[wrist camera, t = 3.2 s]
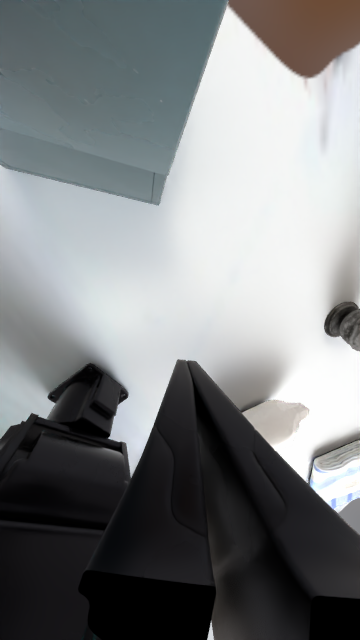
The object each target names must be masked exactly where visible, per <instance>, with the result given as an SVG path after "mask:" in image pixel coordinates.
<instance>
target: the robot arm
mask: <svg viewBox="0 0 360 640" xmlns="http://www.w3.org/2000/svg"><path fill="white" fill-rule="evenodd" d="M89 367H90V368H92V369H89ZM52 395H53V396H52ZM127 398H128V392H127V391H126V390H125V389H124V388H122V387H121V385H119V384H118V383H117V382H116V381H114V380H113V379H112V378H111V377H110V376H108V375H107V374H105V373H104V372H103V371H101V370H100V369H99V368H98V367H96V366H95V365H94V364H91V363H90V364H87V365H86V366H84V367H83V368H82V369H80V370H79V371H78V372H76V373H75V374H74V375H72V376H71V377H70V378H68V379H67V380H66V381H64V382H63V383H62V384H61V385H59V386H58V387H57V388H55V389H54V390H53V391H51V392H50V393H49V395H48V399H49V400H51V401H52V402H54V403H56V404H55V406H54V407H53V409H52V411H51V412H50V414H49V416H48V417H47V419H44V418H41V417H38V416H39V415H36V414H33V413H32V414H31V415H30V416H29V418H28V419H27V420H26V422H24V421H22V422H21V424H18V425H14V426H11V427H10V428H9V429H8V430H7V432H6V433H5V434H4V435H3V437H2V438H1V439H0V640H207V638H208V633H209V628H210V623H211V621H212V627H213V636H214V640H360V535H359V534H358V533H357V532H356V531H355V530H354V529H353V528H352V527H351V526H350V525H349V524H348V523H347V522H346V521H345V520H344V519H343V518H342V517H341V516H340V515H339V514H338V513H337V512H336V511H335V510H334V509H333V508H332V507H331V506H330V505H329V504H328V503H327V502H326V501H325V500H324V499H323V498H322V497H321V496H320V495H319V494H318V493H317V492H316V491H315V490H314V489H313V488H312V487H311V486H310V485H309V484H308V483H307V482H306V481H304V480H303V479H302V478H301V477H300V476H299V475H298V474H297V472H296V471H295V470H294V469H293V468H292V467H291V466H290V465H289V464H288V463H287V462H286V461H285V460H284V459H283V458H282V457H281V456H280V455H279V454H278V453H277V452H276V451H275V450H274V448H273V447H272V446H271V445H270V444H269V443H268V442H267V441H266V440H265V439H264V438H263V436H262V435H261V434H260V433H259V432H258V431H257V430H256V429H255V428H254V426H253V425H252V424H251V423H250V422H249V421H248V420H247V418H246V417H245V416H244V415H243V414H242V413H241V412H240V410H239V409H238V408H237V407H236V406H235V405H234V404H233V403H232V401H231V400H230V399H229V398H228V397H227V396H226V395H225V394H224V392H223V391H222V390H221V389H220V388H219V387H218V386H217V384H216V383H215V382H214V381H213V380H212V379H211V378H210V377H209V375H208V374H207V373H206V372H205V371H204V370H203V369H202V368H201V366H200V365H199V364H198V363H197V362H196V361H189V360H188V361H186V360H177V362H176V365H175V368H174V370H173V373H172V376H171V379H170V381H169V384H168V387H167V390H166V392H165V395H164V398H163V401H162V403H161V406H160V409H159V412H158V414H157V417H156V420H155V423H154V426H153V428H152V431H151V433H150V436H149V439H148V441H147V444H146V446H145V449H144V451H143V454H142V456H141V459H140V461H139V463H138V465H137V467H136V469H135V471H134V473H133V476H132V478H131V477H130V470H129V462H128V454H127V446H126V443H124V442H117V441H114V440H111V439H108V437H109V436H110V434H111V429H112V424H113V419H114V416H115V415H116V411H117V406H118V404H120V403H121V402H123V401H124V400H125V399H127Z"/></svg>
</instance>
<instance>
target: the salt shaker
mask: <svg viewBox="0 0 360 640" xmlns="http://www.w3.org/2000/svg"><path fill="white" fill-rule="evenodd" d="M325 332H326V333H327V335H329V336H331V337H339V336H341V337H342V338H343V339H344V340H345V341H346V342H347V343H348V344H350V346H351V347H352V348H353V349H355V350H357V351H360V309H358V306H357V305H356V304H355V303H353V302H344V303H342V304H339V305H338V306H337V307H335V308H334V309H333V310H332V311H331V312H330V314H329V315H328V317H327V319H326V322H325Z"/></svg>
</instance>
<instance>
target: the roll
mask: <svg viewBox="0 0 360 640" xmlns="http://www.w3.org/2000/svg"><path fill="white" fill-rule="evenodd" d="M242 414H243V415H244V416H245V417H246V418H247V420H248V421H249V422H250V423H251V424H252V425H253V426H254V428H255V429H256V430H257V431H258V432H259V433H260V434H261V435H262V436H263V438H264V439H265V440H266V441H267V442H268V443H269V444H270V445H271V446H272V447H273V448H274V450H275V451H276V450H278V449H280V448H283V447H285V446H287V445H288V444H290V443H291V441H292V440H293V438H294V436H295V434H296V432H297V430H298V427H299V423H300V422H301V421H303V420H304V419H305V418H306V417H307V416H308V414H309V409H308V408H307V407H305V406H304V405H302V404H301V403H287V402H284V401H279V400H269V401H266V402H264V403H261V404H259V405H257V406H255V407H253V408H251V409H249V410H247V411H244V412H242Z"/></svg>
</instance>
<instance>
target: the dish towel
mask: <svg viewBox="0 0 360 640" xmlns="http://www.w3.org/2000/svg"><path fill="white" fill-rule="evenodd" d="M310 486H311V487H312V488H313V489H314V490H315V491H316V492H317V493H318V494H319V495H320V496H321V497H322V498H323V499H324V500H325V501H326V502H327V503H328V504H329V505H330V506H331V507H332V508H333V509H334V508H336V507H339V506H341V505H343V504H345V503H347V502H349V501H351V500H354V499H356V498H359V497H360V440H358V441H355V442H353V443H351V444H348V445H346V446H343V447H341V448H339V449H337V450H334V451H332V452H330V453H327V454H325V455H322V456H320V457H318V458H316V459H315V460H314V463H313V469H312V475H311V478H310Z"/></svg>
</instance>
